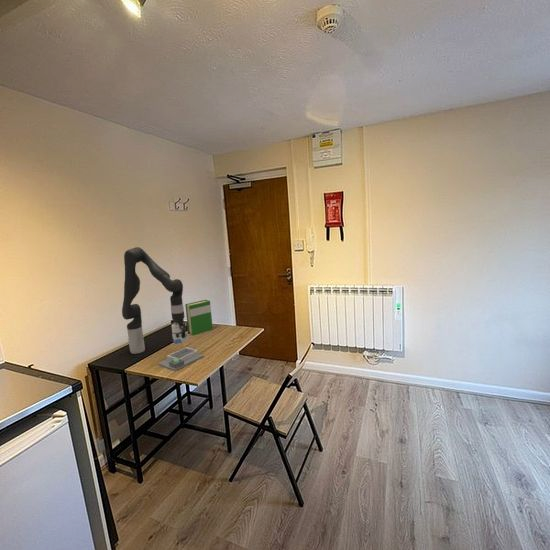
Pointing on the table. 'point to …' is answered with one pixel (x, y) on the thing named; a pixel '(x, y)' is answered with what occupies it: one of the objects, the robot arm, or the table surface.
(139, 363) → the table surface
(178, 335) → the ink box
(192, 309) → the hardback book
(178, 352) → the grey tray
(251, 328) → the table surface
